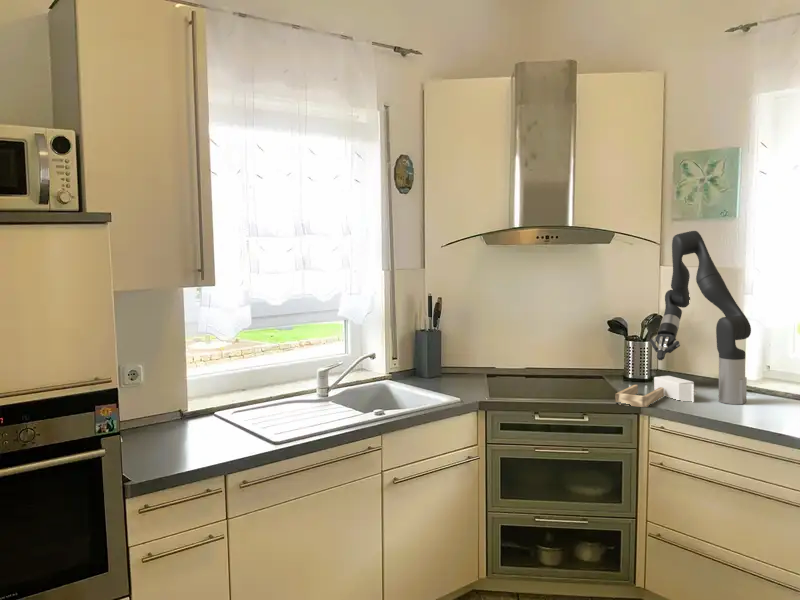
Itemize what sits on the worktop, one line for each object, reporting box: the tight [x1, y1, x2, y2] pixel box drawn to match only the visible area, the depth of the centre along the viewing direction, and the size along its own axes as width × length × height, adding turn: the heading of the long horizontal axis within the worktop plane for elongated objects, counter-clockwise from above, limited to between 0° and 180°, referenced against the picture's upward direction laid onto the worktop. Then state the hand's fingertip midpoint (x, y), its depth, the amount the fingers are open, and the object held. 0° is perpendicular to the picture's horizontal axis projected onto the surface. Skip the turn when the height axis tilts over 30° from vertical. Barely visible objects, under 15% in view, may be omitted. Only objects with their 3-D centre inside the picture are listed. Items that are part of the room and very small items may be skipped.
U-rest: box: [614, 384, 664, 408], centre depth 270 cm, size 12×20×4 cm, turn 141°
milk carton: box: [653, 375, 698, 403], centre depth 273 cm, size 7×7×19 cm
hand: (659, 359), depth 289 cm, fingers closed
